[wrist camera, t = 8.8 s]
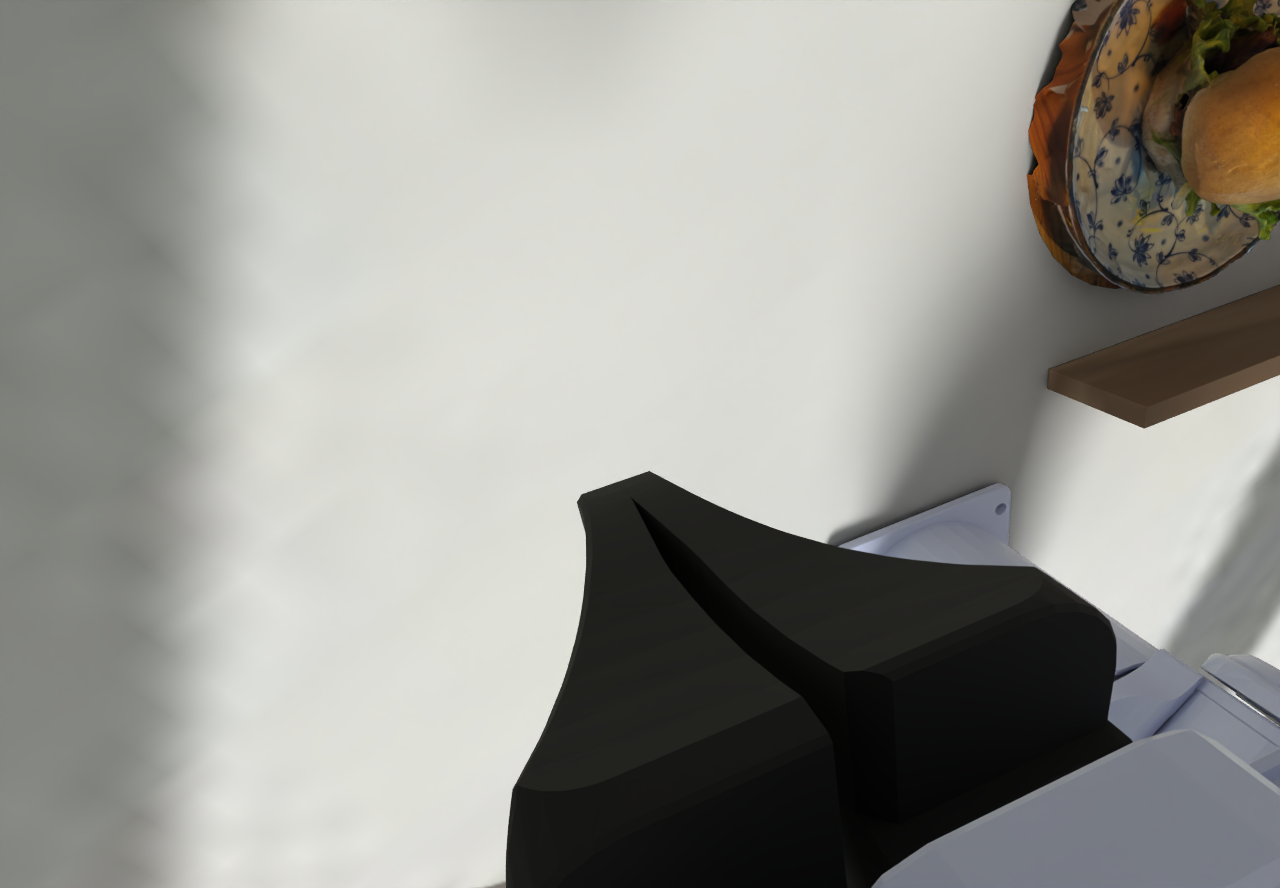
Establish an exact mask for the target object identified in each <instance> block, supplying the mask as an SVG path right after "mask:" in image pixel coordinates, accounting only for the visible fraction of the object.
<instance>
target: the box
mask: <svg viewBox="0 0 1280 888" xmlns="http://www.w3.org/2000/svg"><path fill="white" fill-rule="evenodd" d="M1278 375H1280V285H1278V286H1275V287H1273V288H1270V289H1267V290H1264V291H1262V292H1259V293H1256V294H1254V295H1251V296H1248V297H1245V298H1243V299H1240V300H1237V301H1234V302H1232V303H1229V304H1226V305H1224V306H1221V307H1218V308H1215V309H1213V310H1210V311H1207V312H1204V313H1202V314H1199V315H1196V316H1193V317H1191V318H1188V319H1185V320H1183V321H1180V322H1177V323H1174V324H1172V325H1169V326H1166V327H1163V328H1161V329H1158V330H1155V331H1153V332H1150V333H1147V334H1144V335H1142V336H1139V337H1136V338H1133V339H1131V340H1128V341H1125V342H1123V343H1120V344H1117V345H1114V346H1112V347H1109V348H1106V349H1103V350H1101V351H1098V352H1095V353H1093V354H1090V355H1087V356H1084V357H1082V358H1079V359H1076V360H1073V361H1071V362H1068V363H1065V364H1062V365H1060V366H1057V367H1054V368H1052V369H1049V376H1048V389H1050V390H1052V391H1055V392H1057V393H1059V394H1062V395H1064V396H1067V397H1069V398H1072V399H1074V400H1076V401H1079V402H1081V403H1084V404H1086V405H1088V406H1091V407H1093V408H1096V409H1098V410H1101V411H1103V412H1105V413H1108V414H1110V415H1113V416H1115V417H1118V418H1120V419H1122V420H1125V421H1127V422H1130V423H1132V424H1135V425H1137V426H1139V427H1142V428H1147V427H1149V426H1152V425H1154V424H1157V423H1159V422H1162V421H1164V420H1167V419H1170V418H1172V417H1175V416H1177V415H1180V414H1182V413H1185V412H1187V411H1190V410H1192V409H1195V408H1197V407H1200V406H1202V405H1205V404H1207V403H1210V402H1212V401H1215V400H1217V399H1220V398H1222V397H1225V396H1227V395H1230V394H1233V393H1235V392H1238V391H1240V390H1243V389H1245V388H1248V387H1250V386H1253V385H1255V384H1258V383H1260V382H1263V381H1265V380H1268V379H1270V378H1273V377H1275V376H1278Z"/></svg>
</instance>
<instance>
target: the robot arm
mask: <svg viewBox="0 0 1280 888" xmlns="http://www.w3.org/2000/svg"><path fill="white" fill-rule="evenodd" d="M577 504H578V508H579V511H580V515H581V518H582V522H583V526H584V529H585V533H586V574H585V585H584V596H583V603H582V610H581V616H580V621H579V626H578V631H577V635H576V640H575V644H574V647H573V651H572V654H571V658H570V661H569V665H568V669H567V672H566V675H565V678H564V681H563V684H562V687H561V689H560V692H559V694H558V697H557V699H556V701H555V704H554V706H553V709H552V711H551V714H550V716H549V719H548V721H547V724H546V726H545V728H544V731H543V733H542V735H541V737H540V739H539V741H538V743H537V745H536V747H535V749H534V751H533V752H532V754H531V756H530V758H529V760H528V762H527V764H526V766H525V767H524V769H523V771H522V773H521V775H520V777H519V779H518V781H517V782H516V784H515V786H514V788H513V791H512V798H511V807H510V816H509V824H508V836H507V849H506V888H1280V727H1278V726H1276V725H1275V724H1274V723H1272V722H1271V721H1269V720H1268V719H1266V718H1265V717H1263V716H1262V715H1260V714H1259V713H1257V712H1256V711H1254V710H1253V709H1251V708H1250V707H1249V706H1247V705H1246V704H1244V703H1243V702H1241V701H1240V700H1238V699H1237V698H1235V697H1234V696H1232V695H1231V694H1229V693H1228V692H1226V691H1225V690H1223V689H1222V688H1220V687H1219V686H1217V685H1216V684H1214V683H1213V682H1211V681H1210V680H1208V679H1207V678H1205V677H1204V676H1203V675H1201V674H1200V673H1198V672H1197V671H1195V670H1194V669H1192V668H1191V667H1189V666H1188V665H1186V664H1185V663H1184V662H1182V661H1181V660H1179V659H1178V658H1176V657H1175V656H1173V655H1172V654H1170V653H1169V652H1167V651H1166V650H1165V649H1160V650H1158V649H1157V648H1155V647H1154V646H1152V645H1151V644H1149V643H1148V642H1146V641H1145V640H1144V639H1142V638H1141V637H1139V636H1138V635H1136V634H1135V633H1133V632H1132V631H1131V630H1129V629H1128V628H1126V627H1125V626H1123V625H1122V624H1120V623H1119V622H1118V621H1116V620H1115V619H1113V618H1112V617H1110V616H1109V615H1107V614H1106V613H1104V612H1103V611H1102V610H1100V609H1099V608H1097V607H1096V606H1094V605H1093V604H1091V603H1090V602H1089V601H1087V600H1086V599H1084V598H1083V597H1081V596H1080V595H1078V594H1077V593H1075V592H1074V591H1073V590H1071V589H1070V588H1068V587H1067V586H1065V585H1064V584H1062V583H1061V582H1060V581H1058V580H1057V579H1055V578H1054V577H1052V576H1051V575H1049V574H1048V573H1046V572H1045V571H1044V570H1042V569H1041V568H1039V567H1038V566H1036V565H1035V564H1033V563H1032V562H1031V561H1029V560H1028V559H1026V558H1025V557H1023V556H1022V555H1020V554H1019V553H1017V552H1016V551H1015V550H1013V549H1012V548H1010V547H1009V526H1010V504H1011V491H1010V489H1009V488H1008V487H1007V486H1005V485H1003V484H1001V483H997V484H993V485H991V486H988V487H986V488H983V489H981V490H978V491H976V492H973V493H971V494H968V495H966V496H963V497H960V498H958V499H955V500H953V501H950V502H948V503H945V504H943V505H940V506H938V507H935V508H933V509H930V510H928V511H925V512H923V513H920V514H918V515H915V516H912V517H910V518H907V519H905V520H902V521H900V522H897V523H895V524H892V525H890V526H887V527H885V528H882V529H880V530H877V531H875V532H872V533H869V534H867V535H864V536H862V537H859V538H857V539H854V540H852V541H849V542H847V543H844V544H842V545H839V546H833V545H829V544H825V543H821V542H817V541H814V540H810V539H807V538H803V537H800V536H796V535H793V534H789V533H786V532H783V531H780V530H777V529H774V528H771V527H769V526H766V525H763V524H761V523H758V522H756V521H753V520H750V519H748V518H745V517H743V516H740V515H738V514H736V513H733V512H731V511H728V510H726V509H724V508H722V507H720V506H717V505H715V504H713V503H711V502H709V501H707V500H705V499H703V498H701V497H698V496H696V495H694V494H692V493H690V492H689V491H687V490H685V489H683V488H681V487H679V486H677V485H675V484H673V483H671V482H669V481H667V480H665V479H664V478H662V477H660V476H658V475H656V474H654V473H652V472H650V471H648V472H645V473H642V474H640V475H637V476H634V477H631V478H628V479H625V480H622V481H619V482H616V483H613V484H610V485H608V486H605V487H602V488H599V489H596V490H593V491H590V492H587V493H584V494H582V495H581V497H580V498H579V500H578V501H577ZM1201 668H1202V669H1204V670H1205V671H1206V672H1208V673H1209V674H1210V675H1212V676H1213V677H1214V678H1216V679H1217V680H1219V681H1220V682H1221V683H1223V684H1224V685H1226V686H1227V687H1229V688H1230V689H1231V690H1233V691H1234V692H1236V695H1237V696H1238V697H1240V698H1241V699H1242V700H1244V701H1245V702H1247V703H1248V704H1249V705H1251V706H1252V707H1254V708H1255V709H1256V710H1258V711H1259V712H1261V713H1262V714H1264V715H1265V716H1266V717H1268V718H1269V719H1271V720H1272V721H1274V722H1275V723H1276V724H1278V725H1279V726H1280V670H1279V669H1277V668H1275V667H1273V666H1272V665H1270V664H1268V663H1266V662H1264V661H1262V660H1261V659H1259V658H1256V657H1254V656H1252V655H1229V656H1228V657H1226V656H1224V655H1222V654H1219V653H1216V654H1212V655H1210V656H1209V658H1208V659H1207V661H1206V662H1205V663H1204V664H1203V665H1202V666H1201Z"/></svg>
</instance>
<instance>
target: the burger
mask: <svg viewBox="0 0 1280 888" xmlns="http://www.w3.org/2000/svg"><path fill="white" fill-rule="evenodd" d="M1071 10H1072V13H1073V17H1074V20H1075V22H1074V23H1073V25H1072V26H1071V28H1070V32H1069V34H1068V35H1067V36H1066V38H1065V39H1064V40H1063V41H1062V42H1061V43H1060V45H1059V47H1060V49H1061V51H1062V53H1063V56H1062V59H1061V61H1060V63H1059V64H1058V66H1057V68H1056V71H1055V75H1054V78H1053V81H1052V82H1051V83H1050V84H1048V85H1047V86H1045V87H1044V88H1043V89H1042V90H1041V91H1040V92H1039V93H1038V94H1037V95H1036V97H1035V103H1034V119H1033V120H1032V123H1031V126H1030V128H1029V139H1030V145H1031V148H1032V150H1033V153H1034V155H1035V157H1036V159H1037V161H1038V166H1037V167H1036V168H1035V169H1034V171H1033V175H1027V177H1028V188H1029V195H1030V204H1031V208H1032V211H1033V214H1034V218H1035V221H1036V223H1037V227H1038V230H1039V233H1040V235H1041V237H1042V238H1043V240H1044V242H1045V243H1046V245H1047V247H1048V248H1049V250H1050V252H1051V253H1052V255H1053V257H1054V258H1055V259H1056V260H1057V261H1058V262H1059V263H1060V264H1061V265H1062V266H1063V267H1064V268H1065V269H1066V270H1067V271H1068V272H1069V273H1070V274H1071V275H1073V276H1075V277H1077V278H1079V279H1081V280H1083V281H1085V282H1087V283H1089V284H1091V285H1095V286H1101V287H1107V288H1113V289H1117V288H1123V289H1126V290H1129V291H1134V292H1138V293H1145V294H1161V293H1164V292H1170V291H1174V290H1181V289H1184V288H1188V287H1192V286H1194V285H1197V284H1199V283H1201V282H1203V281H1205V280H1208V279H1209V278H1212V277H1214V276H1215V275H1217V274H1218V273H1219V272H1220V271H1222V270H1223V269H1225V268H1226V267H1227V266H1229V264H1231V263H1233V262H1234V261H1235V260H1237V259H1238V258H1241V257H1242V256H1243V255H1244V254H1247V253H1248V252H1249V251H1250V250H1251V249H1252V247H1253V246H1254V245H1255V244H1256V243H1257V242H1258V241H1259V240H1260V239H1262V240H1268V239H1270V237H1271V236H1270V230H1272V229H1273V227H1274V226H1275V225H1276V223H1277V222H1278V221H1279V220H1280V0H1077V1H1075V2H1074V3H1073V5H1072V6H1071ZM1035 199H1036V200H1035Z"/></svg>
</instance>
